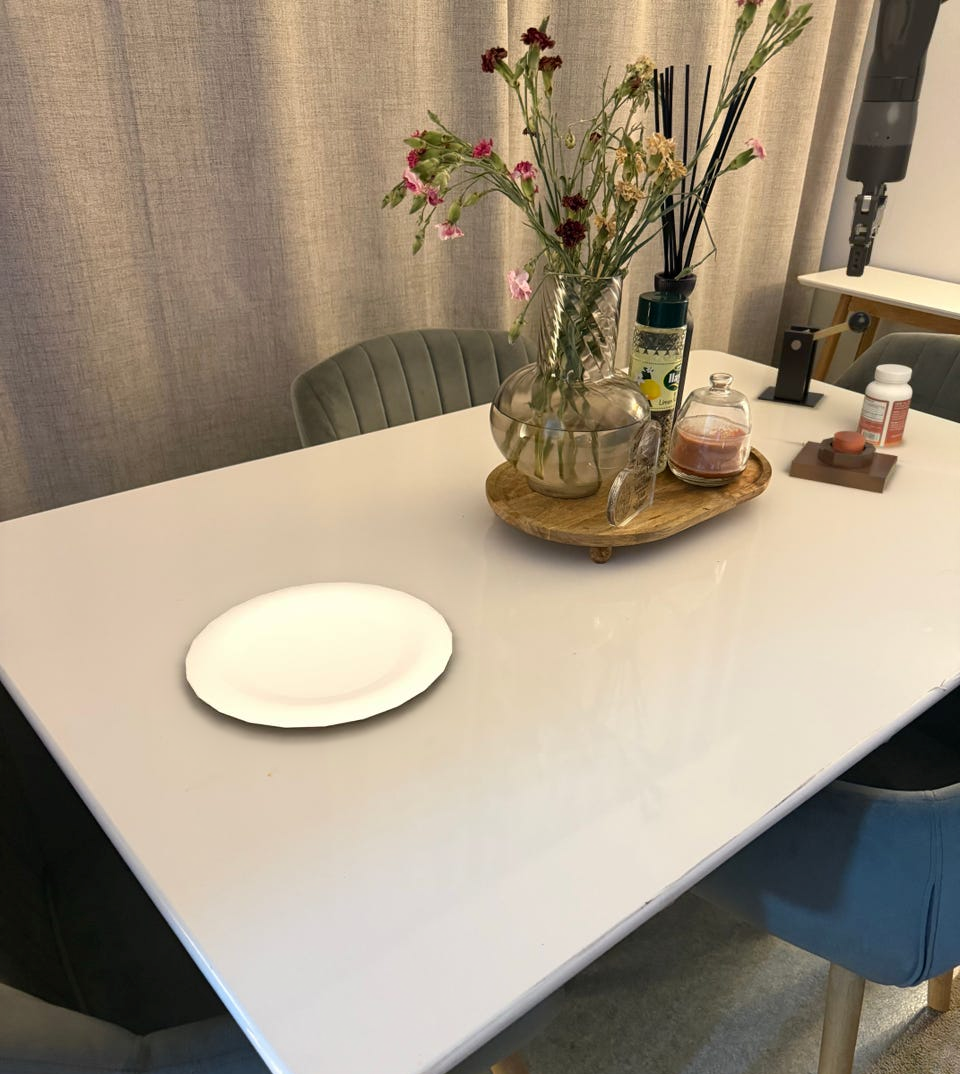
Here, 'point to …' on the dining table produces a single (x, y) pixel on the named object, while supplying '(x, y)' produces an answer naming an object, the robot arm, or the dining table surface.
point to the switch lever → (847, 325)
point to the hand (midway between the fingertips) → (857, 270)
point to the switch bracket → (795, 369)
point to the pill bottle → (886, 405)
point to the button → (848, 441)
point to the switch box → (844, 466)
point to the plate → (319, 655)
